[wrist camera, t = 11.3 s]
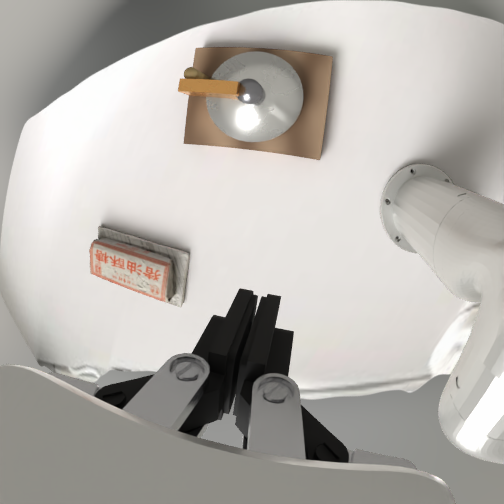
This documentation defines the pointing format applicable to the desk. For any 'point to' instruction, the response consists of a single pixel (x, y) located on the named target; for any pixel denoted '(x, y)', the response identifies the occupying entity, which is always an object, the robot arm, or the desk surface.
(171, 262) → the packaged product
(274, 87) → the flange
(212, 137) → the board
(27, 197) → the desk surface
